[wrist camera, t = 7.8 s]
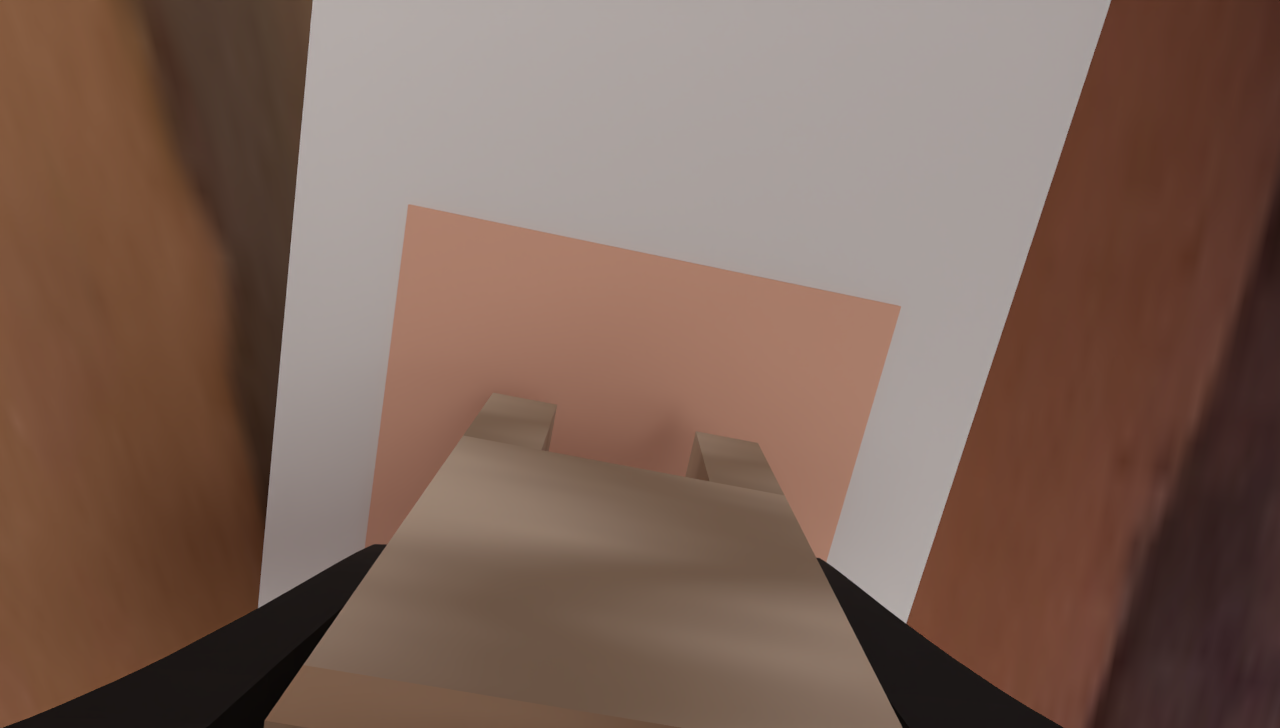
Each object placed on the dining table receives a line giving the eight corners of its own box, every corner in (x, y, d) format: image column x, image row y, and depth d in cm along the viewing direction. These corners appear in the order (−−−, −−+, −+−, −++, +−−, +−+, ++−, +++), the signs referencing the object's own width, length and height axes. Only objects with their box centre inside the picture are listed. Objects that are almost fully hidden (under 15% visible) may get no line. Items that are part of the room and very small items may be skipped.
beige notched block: (758, 443, 11) (954, 831, 4) (699, 671, 12) (787, 1282, 5) (493, 392, 11) (263, 721, 4) (454, 629, 12) (218, 1215, 5)
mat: (404, -858, 10) (391, -914, 9) (1295, -608, 10) (1328, -649, 10) (266, 615, 15) (254, 629, 14) (863, 720, 16) (870, 737, 15)
